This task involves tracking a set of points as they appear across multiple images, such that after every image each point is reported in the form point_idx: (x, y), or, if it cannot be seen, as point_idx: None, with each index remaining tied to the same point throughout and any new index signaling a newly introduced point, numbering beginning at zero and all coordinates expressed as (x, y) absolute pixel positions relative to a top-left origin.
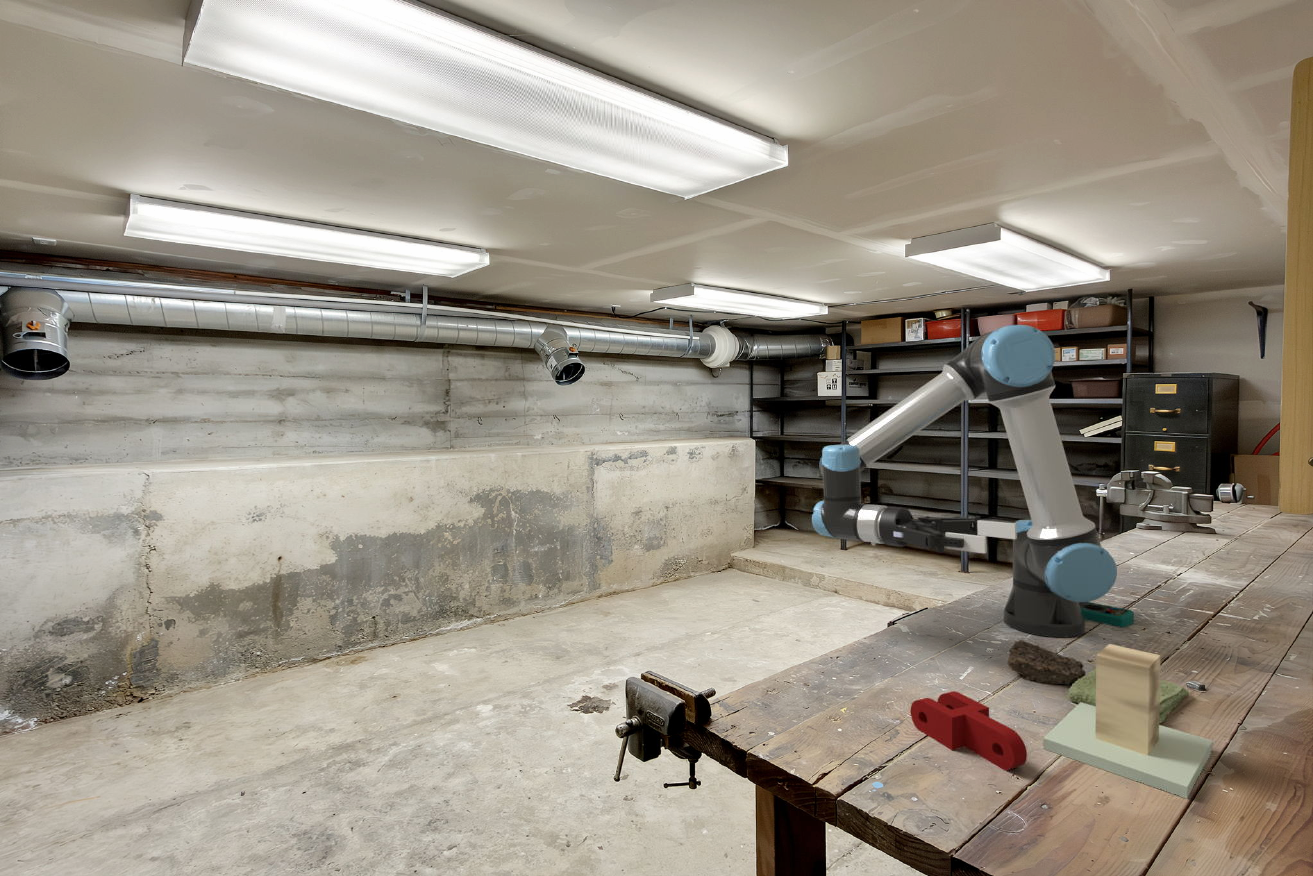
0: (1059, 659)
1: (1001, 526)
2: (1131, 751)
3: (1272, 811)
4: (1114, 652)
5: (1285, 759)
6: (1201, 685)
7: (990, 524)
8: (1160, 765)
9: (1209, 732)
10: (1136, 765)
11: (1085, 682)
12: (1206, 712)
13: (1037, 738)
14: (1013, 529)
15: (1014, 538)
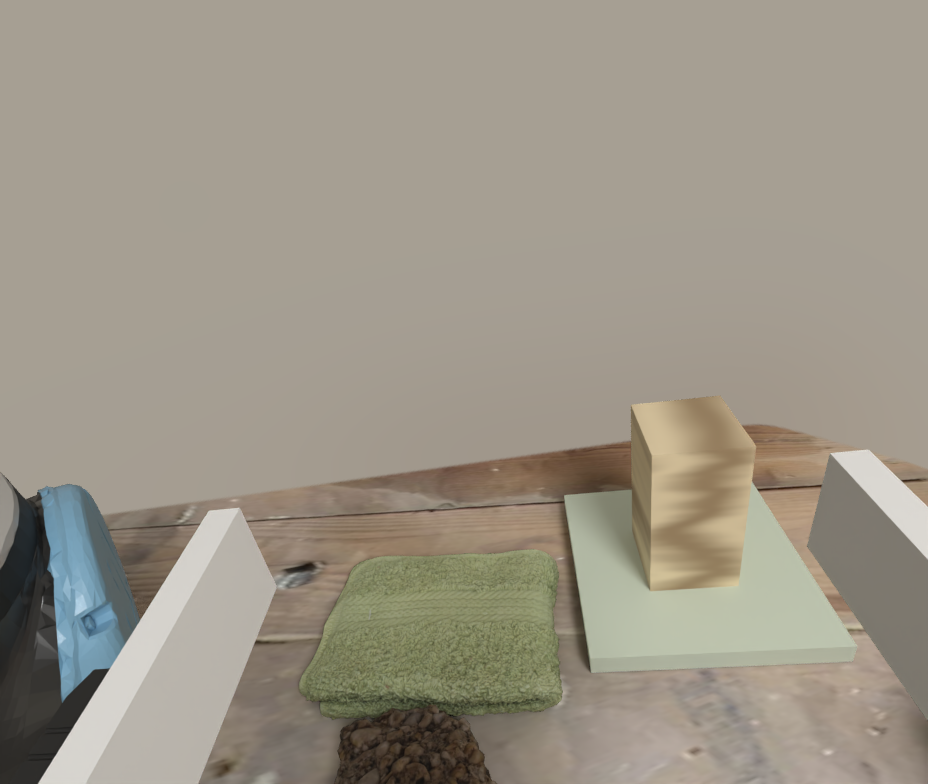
0: (410, 749)
1: (204, 611)
2: None
3: None
4: (699, 437)
5: (515, 466)
6: (289, 571)
7: (149, 702)
8: None
9: (498, 523)
10: (762, 524)
11: (489, 671)
12: (417, 541)
13: (823, 688)
14: (248, 546)
15: (271, 588)
